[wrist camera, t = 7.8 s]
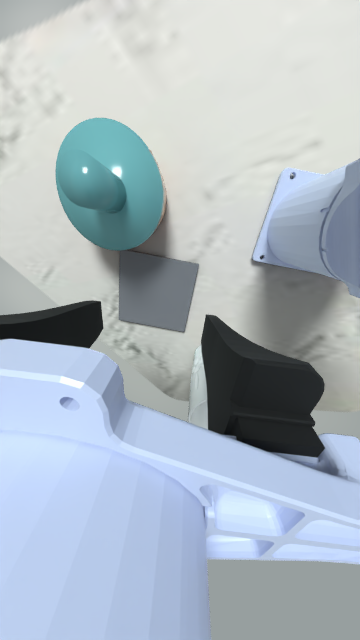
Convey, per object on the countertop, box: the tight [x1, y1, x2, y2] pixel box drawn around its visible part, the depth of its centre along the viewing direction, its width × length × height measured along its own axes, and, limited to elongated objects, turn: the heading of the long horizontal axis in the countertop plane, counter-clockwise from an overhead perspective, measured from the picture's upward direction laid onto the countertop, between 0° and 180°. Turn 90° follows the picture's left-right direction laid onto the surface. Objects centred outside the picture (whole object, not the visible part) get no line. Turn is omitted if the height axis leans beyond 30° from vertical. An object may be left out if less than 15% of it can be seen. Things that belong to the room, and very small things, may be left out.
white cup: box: [188, 345, 208, 429], centre depth 21 cm, size 8×8×10 cm
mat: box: [119, 250, 199, 332], centre depth 22 cm, size 9×9×1 cm
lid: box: [56, 118, 164, 251], centre depth 13 cm, size 9×9×5 cm
